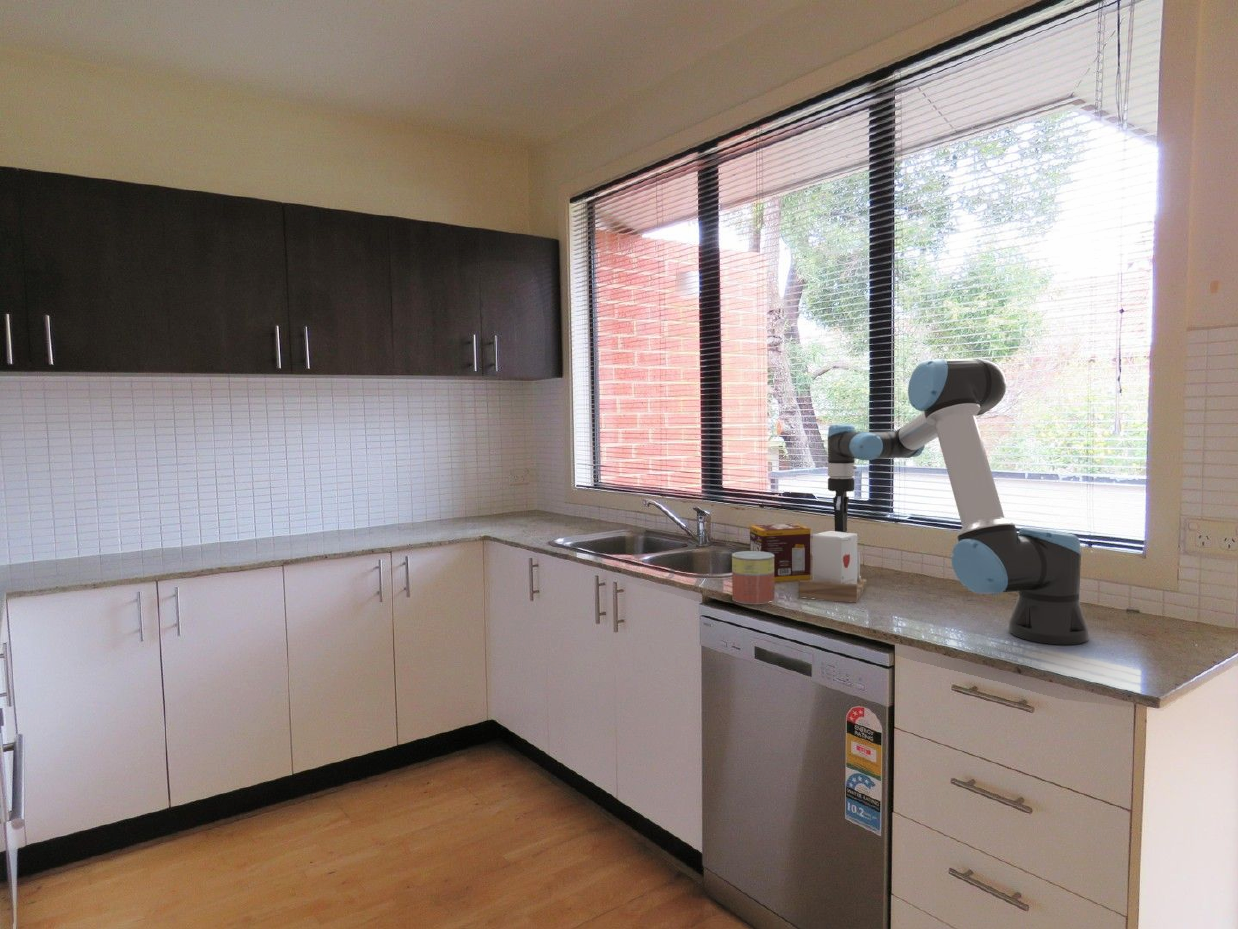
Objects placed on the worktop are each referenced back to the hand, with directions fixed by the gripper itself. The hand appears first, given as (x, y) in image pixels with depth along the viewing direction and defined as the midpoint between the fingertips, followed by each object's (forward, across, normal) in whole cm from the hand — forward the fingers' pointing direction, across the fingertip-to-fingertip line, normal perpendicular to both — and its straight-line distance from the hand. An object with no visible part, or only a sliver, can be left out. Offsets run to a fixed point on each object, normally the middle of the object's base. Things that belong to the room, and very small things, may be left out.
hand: (840, 556), depth 223 cm
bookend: (+5, -6, 0) cm, 8 cm away
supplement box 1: (+7, -3, +17) cm, 19 cm away
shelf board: (+7, -15, 0) cm, 17 cm away
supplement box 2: (+5, -18, -1) cm, 19 cm away
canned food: (+7, -31, +18) cm, 37 cm away
